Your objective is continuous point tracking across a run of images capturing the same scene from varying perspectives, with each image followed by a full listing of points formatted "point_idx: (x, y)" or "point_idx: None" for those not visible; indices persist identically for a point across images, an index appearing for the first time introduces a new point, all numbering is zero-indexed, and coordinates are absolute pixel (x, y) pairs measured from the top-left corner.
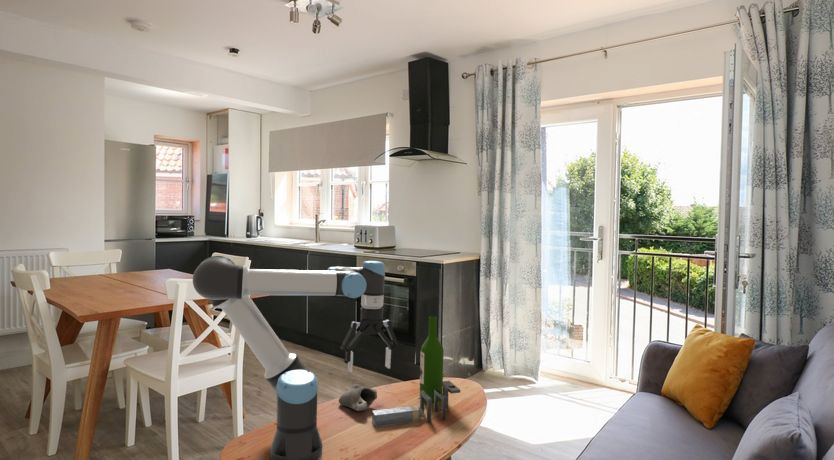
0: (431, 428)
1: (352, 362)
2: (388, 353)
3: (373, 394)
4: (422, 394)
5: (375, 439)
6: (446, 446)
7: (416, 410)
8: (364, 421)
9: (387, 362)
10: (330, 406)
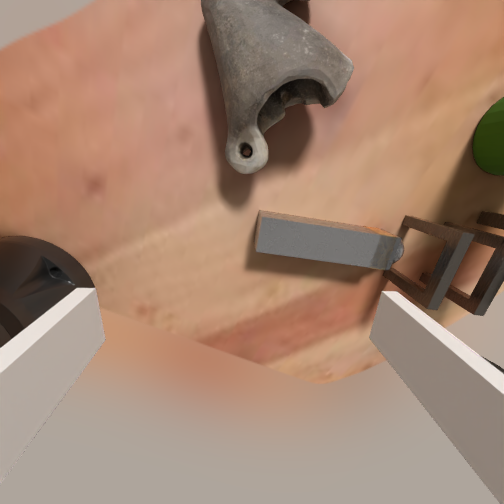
0: (368, 302)
1: (54, 405)
2: (461, 441)
3: (325, 95)
4: (448, 254)
5: (227, 299)
6: (341, 372)
7: (379, 268)
8: (241, 196)
9: (396, 350)
10: (171, 2)
